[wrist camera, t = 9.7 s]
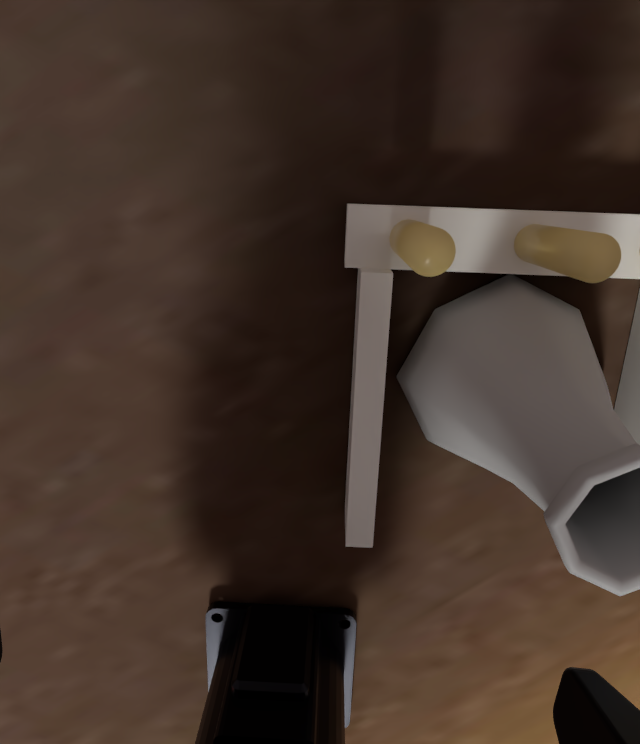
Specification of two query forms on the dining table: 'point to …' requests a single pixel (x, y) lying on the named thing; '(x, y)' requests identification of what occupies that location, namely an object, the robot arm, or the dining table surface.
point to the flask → (534, 419)
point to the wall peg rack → (464, 254)
